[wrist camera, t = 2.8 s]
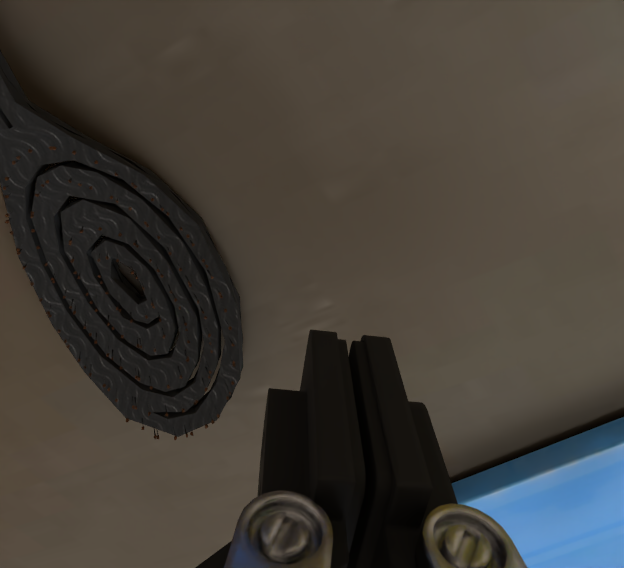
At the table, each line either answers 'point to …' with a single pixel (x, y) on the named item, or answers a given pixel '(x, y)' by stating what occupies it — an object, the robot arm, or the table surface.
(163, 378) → the hairbrush
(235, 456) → the table surface
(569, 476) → the file sorter
